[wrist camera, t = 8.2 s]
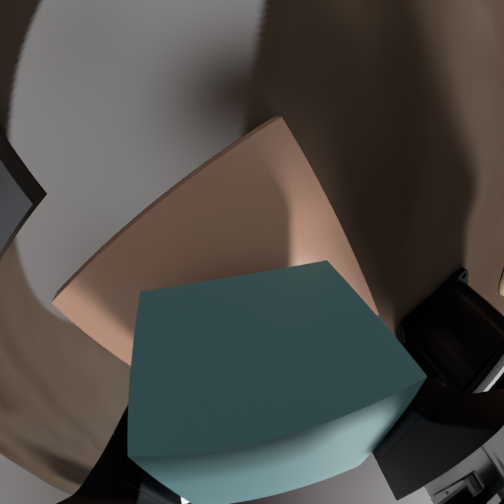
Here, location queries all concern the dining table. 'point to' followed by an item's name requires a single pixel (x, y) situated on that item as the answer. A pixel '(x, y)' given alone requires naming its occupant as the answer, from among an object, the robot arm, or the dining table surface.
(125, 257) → the tile
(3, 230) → the post base
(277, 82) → the dining table surface
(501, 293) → the hand bell
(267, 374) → the teal cube
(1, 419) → the dining table surface
